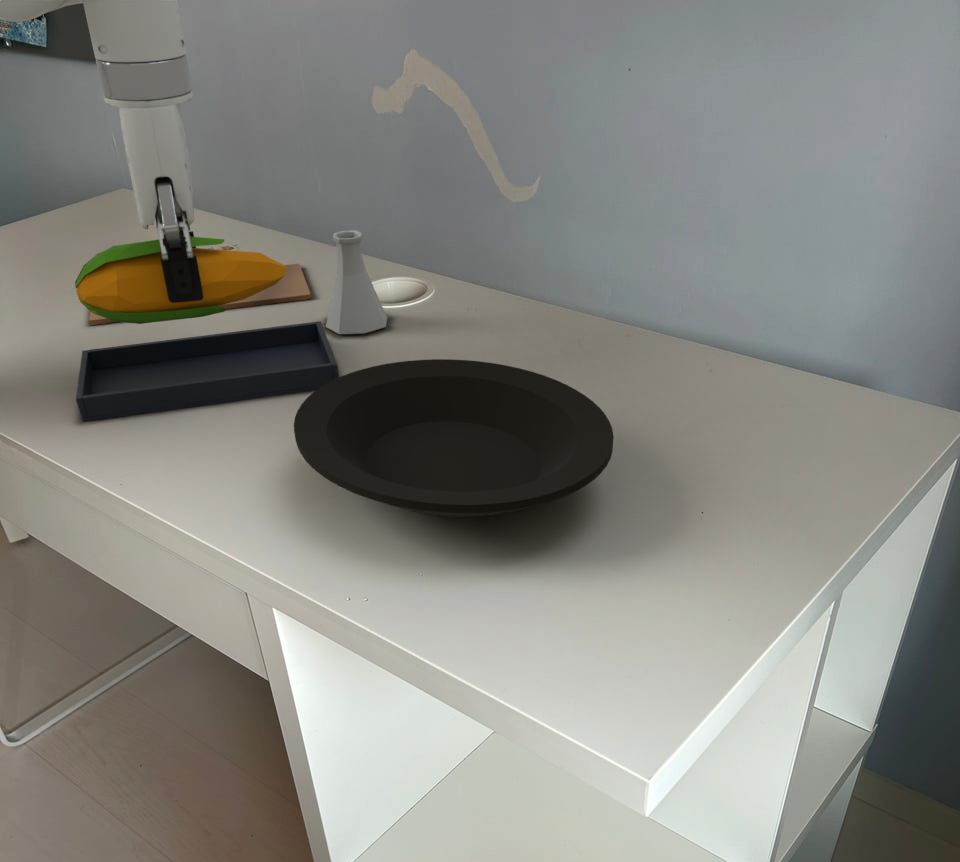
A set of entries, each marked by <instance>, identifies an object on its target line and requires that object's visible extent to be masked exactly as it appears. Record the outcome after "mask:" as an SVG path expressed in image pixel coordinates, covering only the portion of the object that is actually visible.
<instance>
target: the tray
mask: <svg viewBox="0 0 960 862" xmlns="http://www.w3.org/2000/svg"><path fill="white" fill-rule="evenodd" d="M338 367H339V366H338V364H337V361H336V358H335V355H334V352H333V350H332V347H331V344H330V342H329V339H328V336H327V334H326V331H325V328H324V326H323V323H322V321H321V320H319V321H318V320H317V321H311V322H310V321H309V322H302V323H293V324H287V325H285V324H284V325H278V326H277V325H276V326H270V327H263V328H262V327H261V328H254V329H246V330H237V331H229V332H222V333H221V332H220V333H214V334H205V335H198V336H190V337H181V338H172V339H164V340H158V341H150V342H149V341H148V342H141V343H132V344H125V345H116V346H110V347H109V346H107V347H101V348H94V349H93V348H92V349H84V350H81V358H80V366H79V373H78V379H77V389H76V394H75V395H76V397H75V401H76V404H77V407H78V410H79V415H80V417H81V420H82V423H83V422H91V421H97V420H105V419H106V420H107V419H113V418H119V417H127V416H128V417H129V416H133V415H134V416H135V415H143V414H149V413H156V412H164V411H171V410H179V409H184V408H186V409H187V408H192V407H202V406H209V405H217V404H223V403H229V402H231V403H232V402H237V401H245V400H251V399H259V398H267V397H273V396H281V395H287V394H289V395H290V394H296V393H303V392H310V391H316V390H317V389H319V388H320V387H322V386H323V385H325V384H327V383H328V382H330V381H333V380H335V379H337V378H339V377H340V376H339V375H340V374H339V368H338Z"/></svg>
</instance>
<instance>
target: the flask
mask: <svg viewBox="0 0 960 862" xmlns="http://www.w3.org/2000/svg"><path fill="white" fill-rule="evenodd" d="M362 238H363V233H362V232H361V231H358V230H356V229H353V230H352V229H351V230H341V231H337V232H334V233H333V235H332V240H333V242H334V243H335V244H336V253H337V263H336V266H337V267H336V275H335V281H334V286H333V292H332V297H331V300H330V306H329V309H328V310H329V311H328V314H327V319H326V324H325V327H326V328H327V329H328V330H331V331H333V332H335V333H336V334H338V335H353V334H366V333H371V332H374V331H376V330H380V329H383V328H386V327H387V322H388V315H387V314H386V311H385V309H384V307H383V304H382V302H381V300H380V298H379V296H378V294H377V291H376V289H375V287H374V285H373V283H372V281H371V278H370V275H369V273H368V271H367V268H366V264H365V261H364V257H363V254H362V248H361V241H362Z"/></svg>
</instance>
